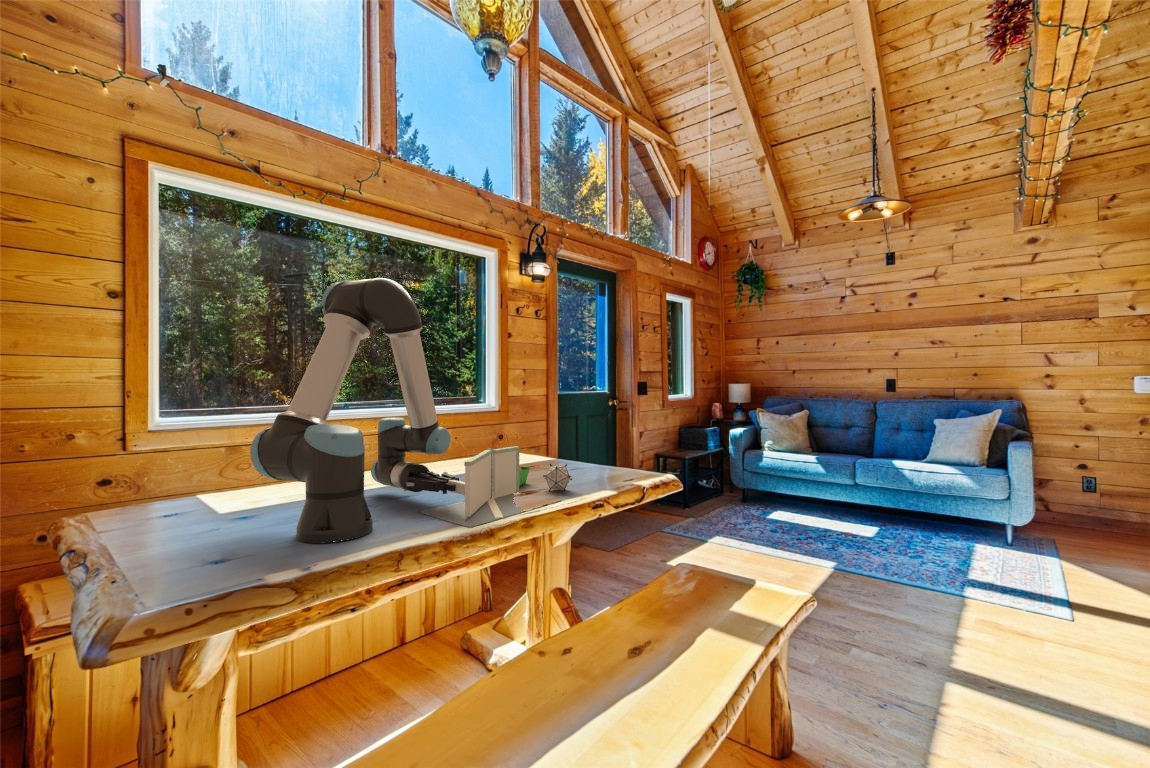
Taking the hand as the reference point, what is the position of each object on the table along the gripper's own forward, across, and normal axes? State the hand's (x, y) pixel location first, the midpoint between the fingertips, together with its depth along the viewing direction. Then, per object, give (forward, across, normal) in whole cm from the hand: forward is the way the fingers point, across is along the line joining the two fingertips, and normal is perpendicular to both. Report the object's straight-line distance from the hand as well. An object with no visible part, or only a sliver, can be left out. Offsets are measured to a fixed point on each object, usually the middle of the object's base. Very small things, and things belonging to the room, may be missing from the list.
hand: (466, 489), depth 127 cm
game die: (0, -35, -7) cm, 35 cm away
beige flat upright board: (-3, -6, -6) cm, 9 cm away
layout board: (-1, -10, -6) cm, 12 cm away
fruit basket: (-16, -31, -7) cm, 35 cm away
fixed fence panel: (-8, -21, -6) cm, 23 cm away
